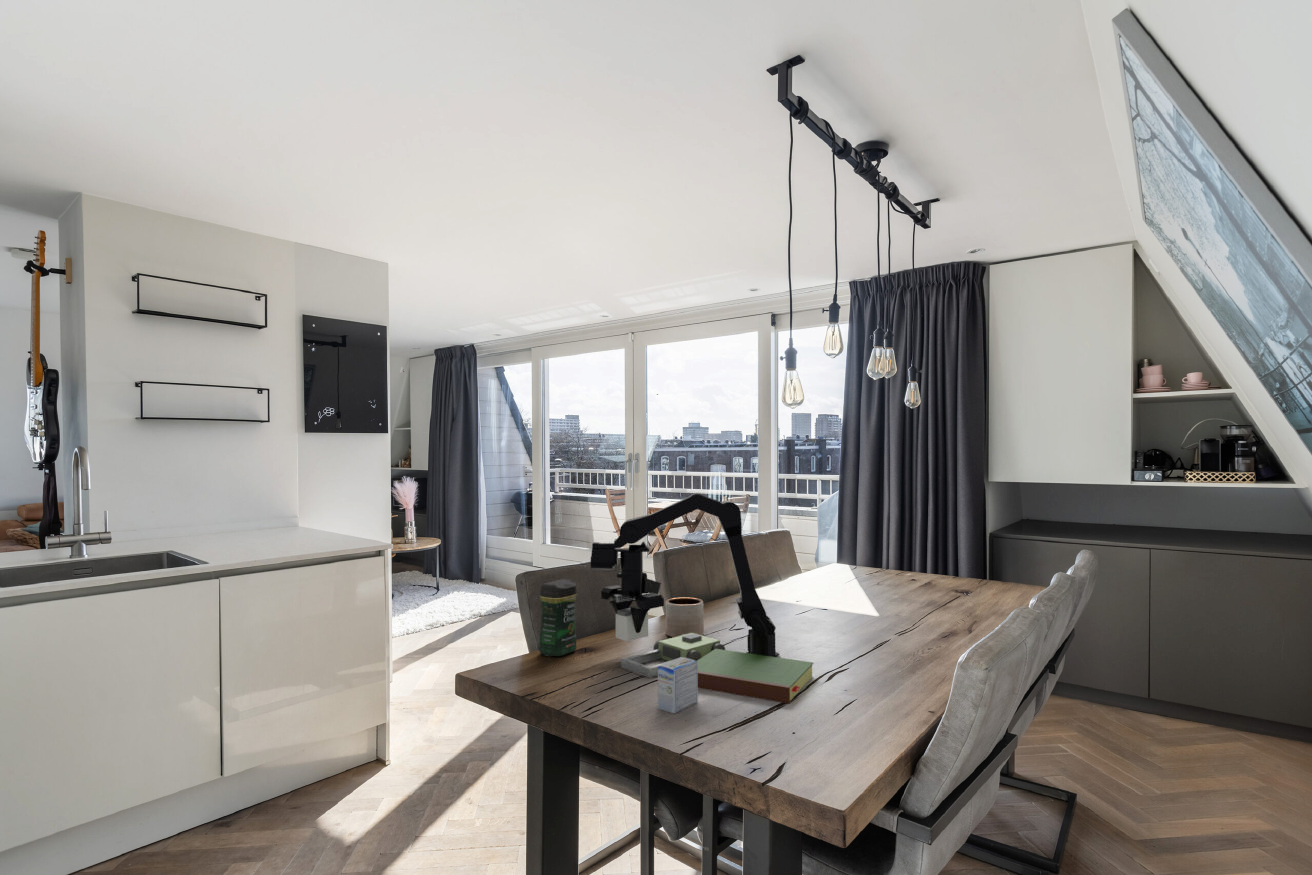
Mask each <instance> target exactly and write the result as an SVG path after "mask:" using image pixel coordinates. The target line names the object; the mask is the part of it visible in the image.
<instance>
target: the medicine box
mask: <svg viewBox="0 0 1312 875" xmlns="http://www.w3.org/2000/svg"><path fill="white" fill-rule="evenodd" d="M666 662H667V663H665V662H663V663H664V664H662V665H659V666H658V675H657V708H658V709H659V710H661V711H664V712H668V713H670V714H676V713H678V712H680V711H682V710H684V709H686V708H688V707H690V706H692V705H694V704H696V703H698V700H699V699H698V697H699V695H698V692H699V691H698V690H699V688H698V662H697V661H695V660H692V659H688V658H684V657H680V658H677V659H674V660H672V661H669V662H668V661H666Z"/></svg>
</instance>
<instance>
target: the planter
mask: <svg viewBox="0 0 1312 875" xmlns="http://www.w3.org/2000/svg"><path fill="white" fill-rule="evenodd" d="M704 623H705V622H704V601H703V599H701V598H696V597H689V596H683V597H682V596H681V597H680V596H679V597H672V598H669V599H666V600H665V634H666V635H667V636H668V637H669V636H670V638H671V637H673V638H674V637H678V636H681V635H682V634H689V633H695V634H698V635H702V636H704V632H705V625H704Z"/></svg>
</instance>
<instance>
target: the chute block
mask: <svg viewBox="0 0 1312 875" xmlns="http://www.w3.org/2000/svg"><path fill="white" fill-rule="evenodd" d="M646 637H649V611H648V612H647V614H646V616H645V619H644V622H643V625H642V628H641V631H640V632H639V633H636V631H635V627H634V622H633V618H632V613H631V608H630V607H629V608H627V609H622V610H617V614H616V613H615V639H618V640H621V641H625V642H630V641H633V640H639V639H641V638H643V639H644V638H646Z"/></svg>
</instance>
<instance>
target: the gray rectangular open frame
mask: <svg viewBox="0 0 1312 875" xmlns="http://www.w3.org/2000/svg"><path fill="white" fill-rule="evenodd" d="M660 659H662V658H661V652H660V650H658V649H657V650H654V649H653V650H649V651H645V652H642V653H639V654H635V655H631V656H628V657H623V658H620V668H621V669H624V670H626V671H629V672H632V673H634V674H637V675H640V676H643V677H646V678H648V679H651V678H654V677H658V666H659V665H662V664H664V663H667V662H669V661H668V660H667V661H665V662H662V663H659V664H655V665H652V666H651V665H650V666H649V665H646V663H648V662H653V661H657V660H660Z"/></svg>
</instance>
